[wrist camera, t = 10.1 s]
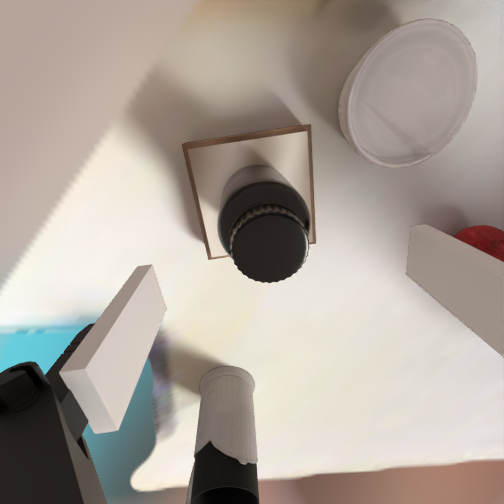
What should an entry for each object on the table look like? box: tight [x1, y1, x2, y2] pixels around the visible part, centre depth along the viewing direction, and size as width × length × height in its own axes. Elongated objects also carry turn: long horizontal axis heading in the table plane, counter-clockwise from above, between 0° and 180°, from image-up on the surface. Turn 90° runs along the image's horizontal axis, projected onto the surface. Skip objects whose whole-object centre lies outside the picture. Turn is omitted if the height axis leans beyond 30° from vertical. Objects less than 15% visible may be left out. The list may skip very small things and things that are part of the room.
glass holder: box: [186, 366, 259, 504], centre depth 37 cm, size 9×14×15 cm, turn 147°
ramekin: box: [338, 19, 477, 168], centre depth 26 cm, size 11×11×5 cm
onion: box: [454, 225, 504, 262], centre depth 31 cm, size 6×6×8 cm
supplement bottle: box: [217, 165, 311, 283], centre depth 22 cm, size 7×7×12 cm
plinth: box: [182, 124, 316, 260], centre depth 29 cm, size 12×12×4 cm
